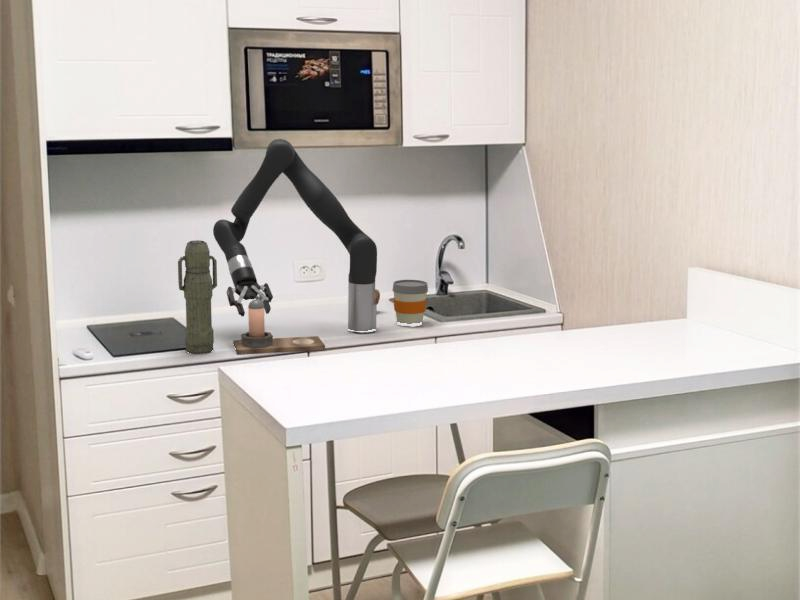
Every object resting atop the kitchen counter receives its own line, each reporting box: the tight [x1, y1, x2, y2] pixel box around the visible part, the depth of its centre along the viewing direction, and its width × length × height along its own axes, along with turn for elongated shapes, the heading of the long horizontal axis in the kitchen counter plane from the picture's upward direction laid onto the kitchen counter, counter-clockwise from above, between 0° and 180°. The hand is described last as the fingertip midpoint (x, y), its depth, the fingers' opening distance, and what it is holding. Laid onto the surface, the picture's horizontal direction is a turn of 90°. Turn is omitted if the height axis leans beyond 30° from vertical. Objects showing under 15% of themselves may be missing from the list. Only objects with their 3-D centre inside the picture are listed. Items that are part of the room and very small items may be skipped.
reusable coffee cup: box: [392, 279, 429, 324], centre depth 355 cm, size 13×12×15 cm
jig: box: [232, 331, 326, 355], centre depth 323 cm, size 28×12×4 cm, turn 105°
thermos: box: [177, 239, 218, 355], centre depth 314 cm, size 9×12×35 cm
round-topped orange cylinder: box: [247, 299, 266, 338], centre depth 320 cm, size 5×5×14 cm
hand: (255, 313), depth 320 cm, fingers open, 8 cm apart
